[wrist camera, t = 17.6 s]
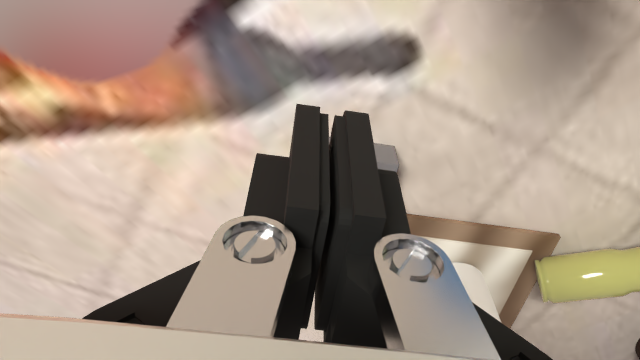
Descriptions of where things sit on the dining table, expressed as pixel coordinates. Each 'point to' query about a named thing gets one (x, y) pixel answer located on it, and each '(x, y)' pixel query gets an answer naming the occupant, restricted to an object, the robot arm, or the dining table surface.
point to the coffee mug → (638, 348)
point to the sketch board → (491, 256)
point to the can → (476, 287)
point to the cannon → (589, 275)
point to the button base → (385, 157)
